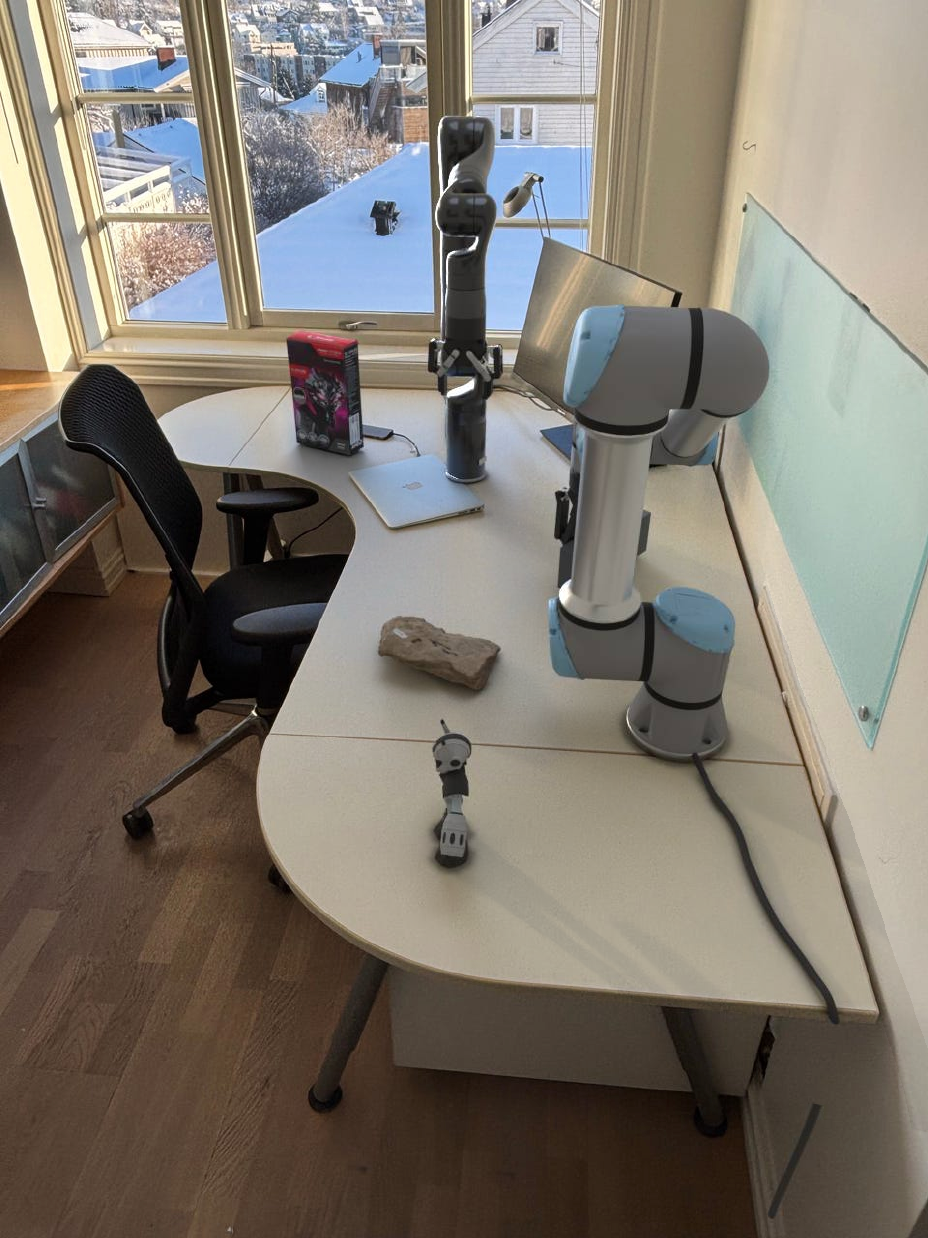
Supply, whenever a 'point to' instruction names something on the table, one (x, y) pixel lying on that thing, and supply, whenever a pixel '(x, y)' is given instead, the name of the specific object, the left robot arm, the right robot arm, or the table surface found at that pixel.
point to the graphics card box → (326, 391)
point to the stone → (438, 651)
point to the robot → (452, 796)
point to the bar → (568, 551)
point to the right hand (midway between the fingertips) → (581, 579)
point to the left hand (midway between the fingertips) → (465, 396)
